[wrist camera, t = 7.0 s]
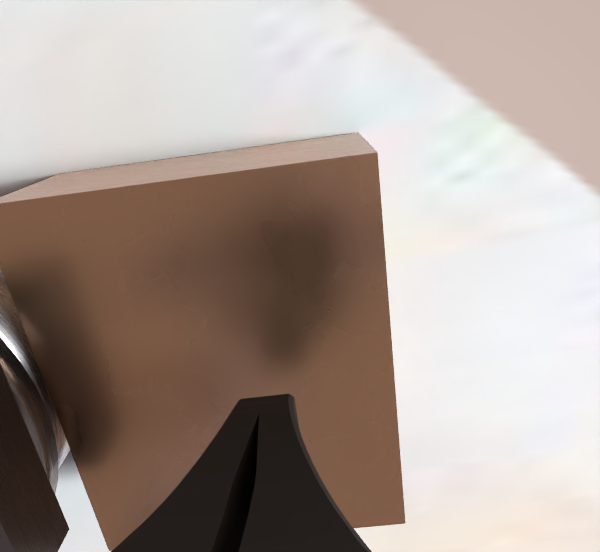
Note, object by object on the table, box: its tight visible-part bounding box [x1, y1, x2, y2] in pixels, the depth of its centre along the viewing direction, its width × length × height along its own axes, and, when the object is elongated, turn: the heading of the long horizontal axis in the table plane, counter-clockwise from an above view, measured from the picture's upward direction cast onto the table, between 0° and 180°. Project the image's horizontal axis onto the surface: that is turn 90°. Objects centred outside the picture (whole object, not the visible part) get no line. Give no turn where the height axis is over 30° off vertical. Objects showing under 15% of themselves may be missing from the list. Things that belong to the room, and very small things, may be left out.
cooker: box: [0, 133, 405, 551], centre depth 17 cm, size 17×22×4 cm
